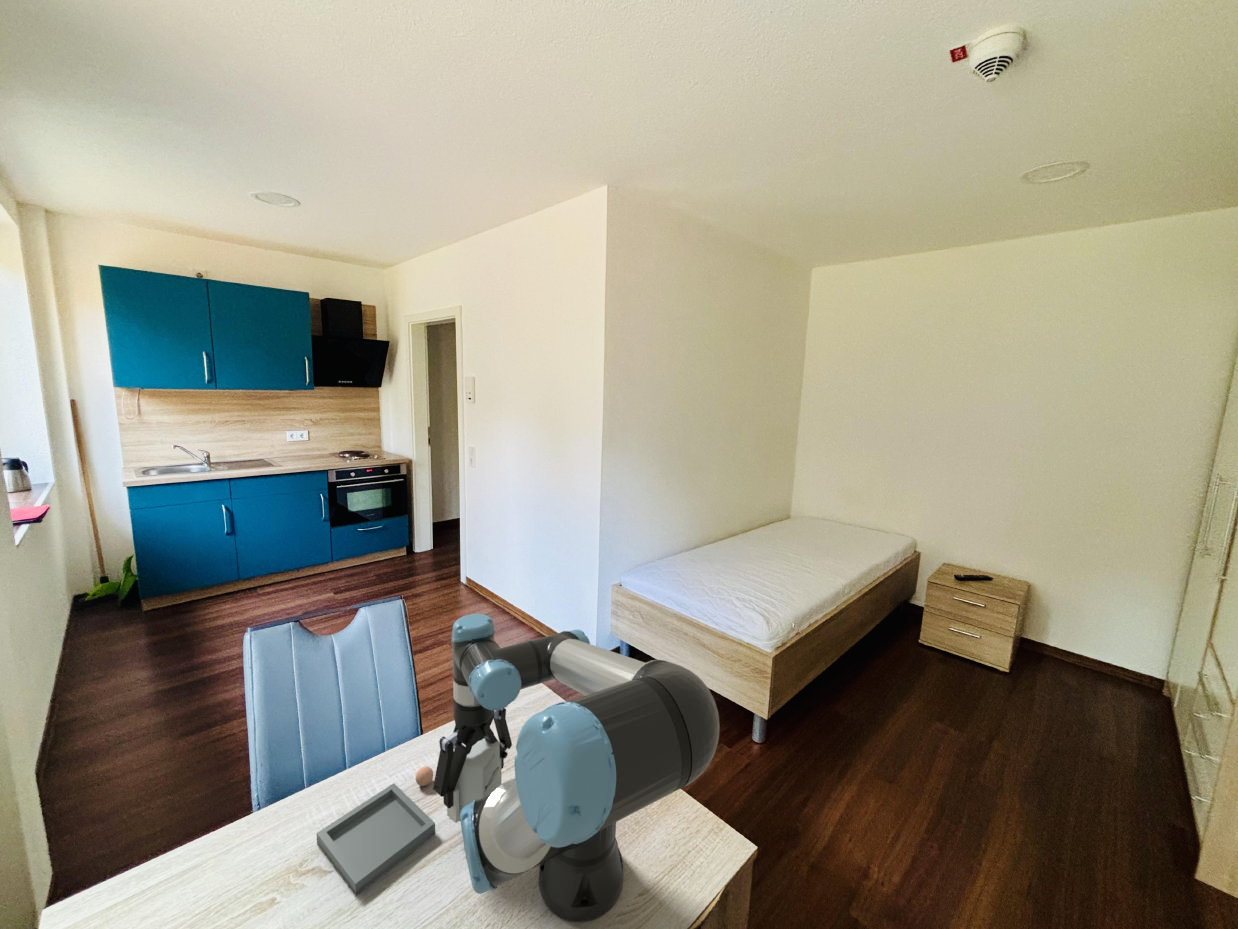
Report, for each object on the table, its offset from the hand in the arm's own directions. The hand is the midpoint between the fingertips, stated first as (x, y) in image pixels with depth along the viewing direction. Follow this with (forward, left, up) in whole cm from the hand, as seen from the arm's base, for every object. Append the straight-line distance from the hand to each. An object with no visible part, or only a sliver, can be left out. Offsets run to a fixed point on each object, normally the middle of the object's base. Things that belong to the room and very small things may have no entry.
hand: (475, 801), depth 96 cm
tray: (+12, +14, -5) cm, 19 cm away
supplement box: (0, 0, -2) cm, 2 cm away
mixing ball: (+17, +1, -5) cm, 18 cm away
